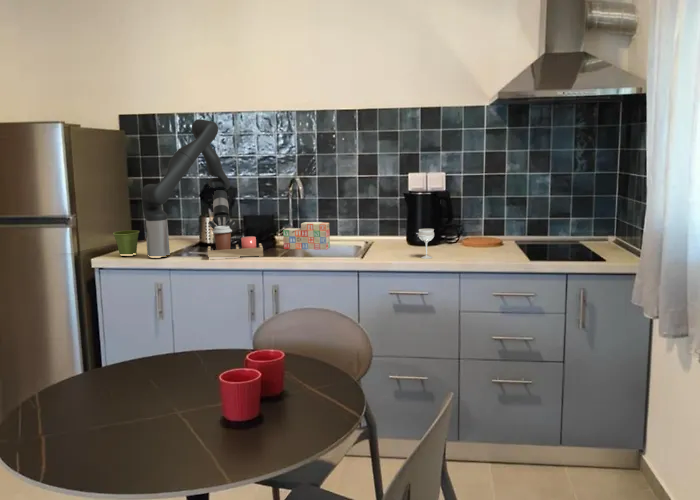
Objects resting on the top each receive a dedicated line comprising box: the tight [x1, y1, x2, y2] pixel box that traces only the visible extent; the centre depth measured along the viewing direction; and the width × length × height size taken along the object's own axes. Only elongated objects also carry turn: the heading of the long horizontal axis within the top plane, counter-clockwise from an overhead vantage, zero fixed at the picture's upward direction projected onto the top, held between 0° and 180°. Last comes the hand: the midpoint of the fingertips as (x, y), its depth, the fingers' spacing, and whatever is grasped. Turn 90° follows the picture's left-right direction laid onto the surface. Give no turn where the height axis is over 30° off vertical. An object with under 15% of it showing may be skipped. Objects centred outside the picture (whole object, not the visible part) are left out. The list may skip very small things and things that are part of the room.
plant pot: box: [112, 230, 140, 255], centre depth 305 cm, size 12×12×11 cm
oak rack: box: [207, 243, 264, 258], centre depth 298 cm, size 13×24×4 cm, turn 101°
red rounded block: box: [240, 235, 257, 249], centre depth 299 cm, size 6×6×8 cm
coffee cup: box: [211, 225, 233, 250], centre depth 308 cm, size 9×9×12 cm
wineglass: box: [417, 227, 435, 259], centre depth 279 cm, size 7×7×12 cm
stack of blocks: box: [282, 221, 331, 251], centre depth 312 cm, size 21×6×12 cm, turn 76°
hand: (222, 237), depth 316 cm, fingers closed
